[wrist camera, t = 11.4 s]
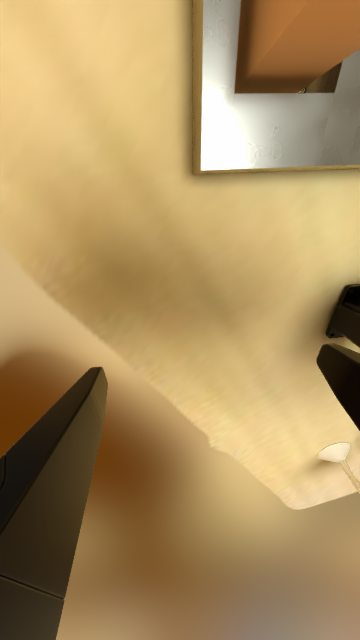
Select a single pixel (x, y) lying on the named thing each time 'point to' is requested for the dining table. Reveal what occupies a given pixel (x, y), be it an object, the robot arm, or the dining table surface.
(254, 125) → the socket plate
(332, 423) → the dining table surface
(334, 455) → the champagne flute
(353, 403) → the robot arm
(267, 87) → the peg
